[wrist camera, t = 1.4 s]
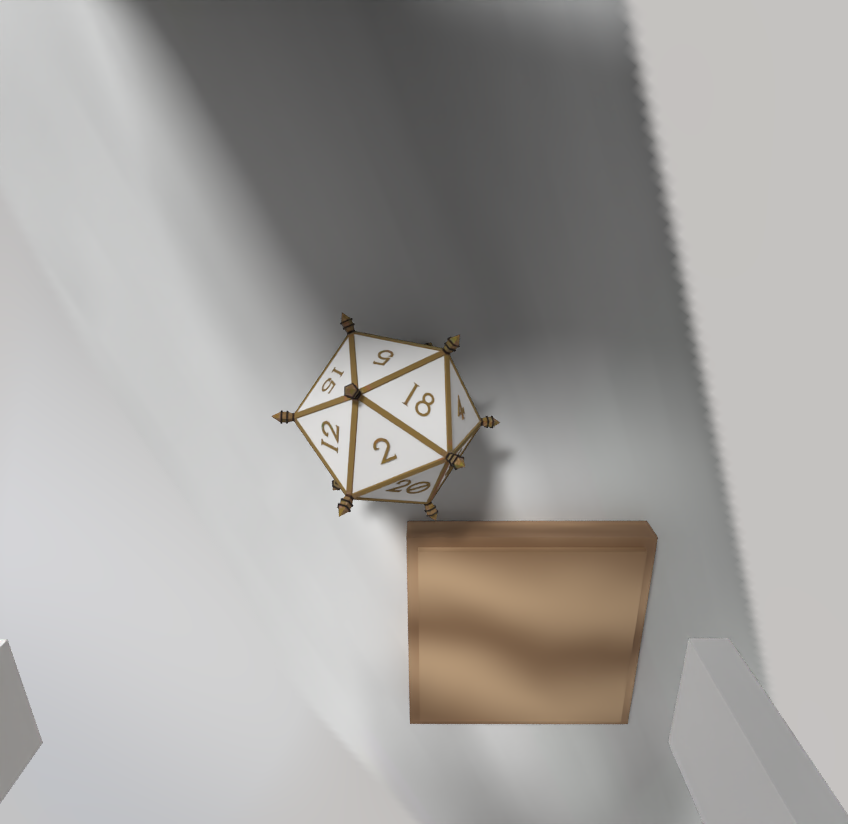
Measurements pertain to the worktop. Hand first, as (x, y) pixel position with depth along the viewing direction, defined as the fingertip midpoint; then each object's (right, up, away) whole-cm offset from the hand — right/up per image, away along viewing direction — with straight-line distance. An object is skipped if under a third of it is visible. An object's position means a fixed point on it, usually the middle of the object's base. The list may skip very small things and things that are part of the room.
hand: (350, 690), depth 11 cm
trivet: (+7, -6, +22) cm, 24 cm away
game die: (0, +7, +18) cm, 19 cm away
